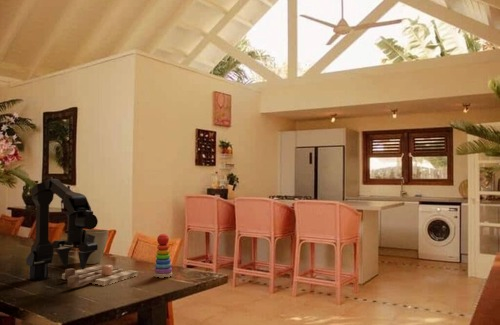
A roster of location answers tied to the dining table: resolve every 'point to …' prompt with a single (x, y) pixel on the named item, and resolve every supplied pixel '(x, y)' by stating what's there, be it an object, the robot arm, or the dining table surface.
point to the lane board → (107, 280)
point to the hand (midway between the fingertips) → (74, 267)
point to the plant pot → (101, 242)
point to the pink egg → (107, 270)
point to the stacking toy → (163, 258)
